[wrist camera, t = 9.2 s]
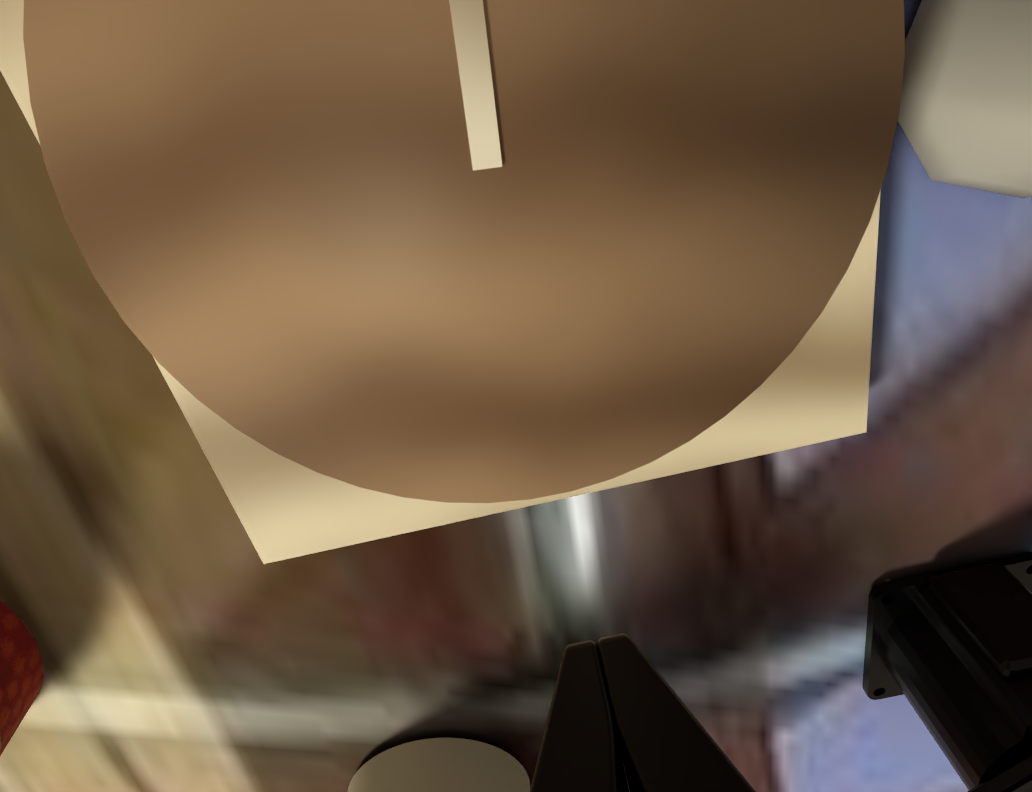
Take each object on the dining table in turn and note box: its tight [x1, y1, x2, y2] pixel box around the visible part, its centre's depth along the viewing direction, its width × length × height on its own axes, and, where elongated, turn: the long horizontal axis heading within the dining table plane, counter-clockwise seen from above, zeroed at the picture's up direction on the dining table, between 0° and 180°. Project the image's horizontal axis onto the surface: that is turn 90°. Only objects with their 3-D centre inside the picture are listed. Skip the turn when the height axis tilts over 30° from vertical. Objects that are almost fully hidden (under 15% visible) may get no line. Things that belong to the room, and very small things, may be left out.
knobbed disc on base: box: [23, 0, 905, 503], centre depth 12 cm, size 17×17×7 cm
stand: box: [0, 0, 881, 564], centre depth 16 cm, size 21×19×2 cm
